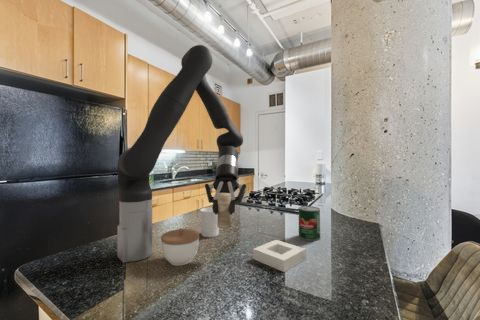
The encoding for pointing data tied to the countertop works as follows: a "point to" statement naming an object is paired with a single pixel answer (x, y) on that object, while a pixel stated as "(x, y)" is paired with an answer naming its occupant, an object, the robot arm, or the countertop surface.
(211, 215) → the white cup
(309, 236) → the canned tomato
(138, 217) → the robot arm
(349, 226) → the countertop surface
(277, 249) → the beige socket block
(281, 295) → the countertop surface
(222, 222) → the birch peg
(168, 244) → the lidded jar
